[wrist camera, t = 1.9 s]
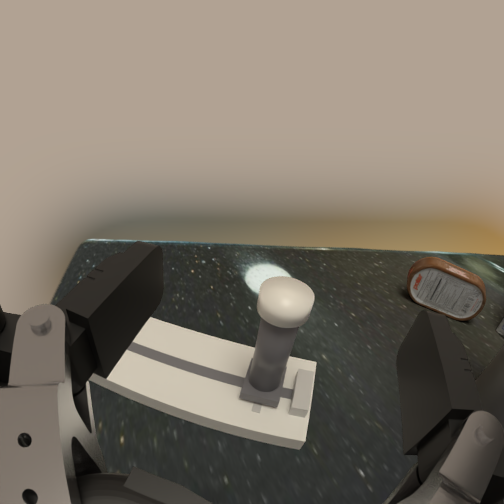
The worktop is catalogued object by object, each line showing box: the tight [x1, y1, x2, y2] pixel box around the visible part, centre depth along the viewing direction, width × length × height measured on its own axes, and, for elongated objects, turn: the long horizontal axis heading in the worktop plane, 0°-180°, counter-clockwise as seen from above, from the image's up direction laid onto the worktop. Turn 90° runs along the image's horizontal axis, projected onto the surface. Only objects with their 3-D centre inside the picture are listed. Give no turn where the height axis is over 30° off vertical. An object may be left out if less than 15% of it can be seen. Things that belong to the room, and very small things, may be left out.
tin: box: [407, 257, 486, 321], centre depth 44 cm, size 15×3×8 cm, turn 60°
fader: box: [239, 276, 314, 407], centre depth 26 cm, size 4×4×12 cm
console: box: [89, 317, 316, 450], centre depth 30 cm, size 26×10×3 cm, turn 76°
